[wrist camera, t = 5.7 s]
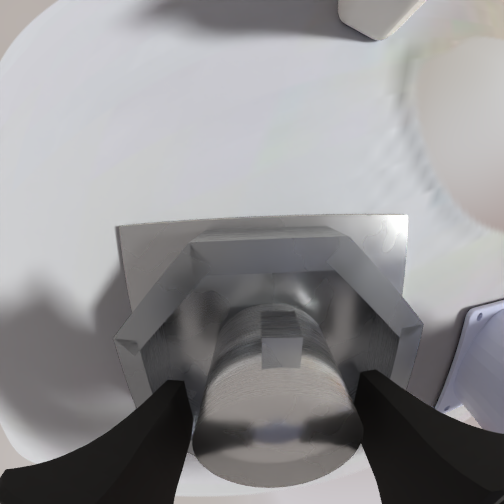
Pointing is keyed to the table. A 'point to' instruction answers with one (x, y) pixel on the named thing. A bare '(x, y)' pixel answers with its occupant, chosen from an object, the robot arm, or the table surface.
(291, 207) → the table surface
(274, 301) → the collar
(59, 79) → the table surface
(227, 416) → the silver short rounded cylinder
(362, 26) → the eye dropper bottle
